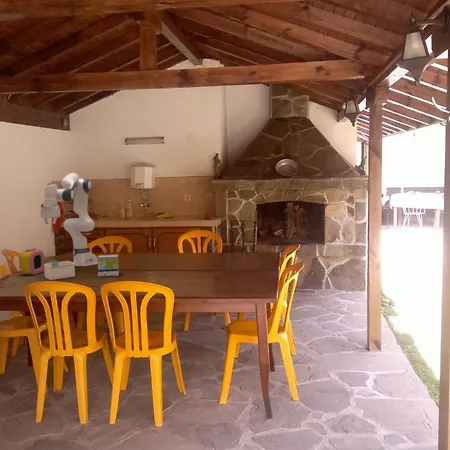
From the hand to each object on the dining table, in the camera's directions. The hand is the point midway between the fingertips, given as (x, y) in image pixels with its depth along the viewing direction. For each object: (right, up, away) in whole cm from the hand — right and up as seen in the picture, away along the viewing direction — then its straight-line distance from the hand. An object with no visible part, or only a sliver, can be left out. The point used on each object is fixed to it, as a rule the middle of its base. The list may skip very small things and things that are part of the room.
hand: (50, 223), depth 361 cm
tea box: (+40, -39, +10) cm, 57 cm away
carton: (+4, -39, +8) cm, 40 cm away
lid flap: (+9, -39, +2) cm, 40 cm away
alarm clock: (-21, -39, +22) cm, 49 cm away
